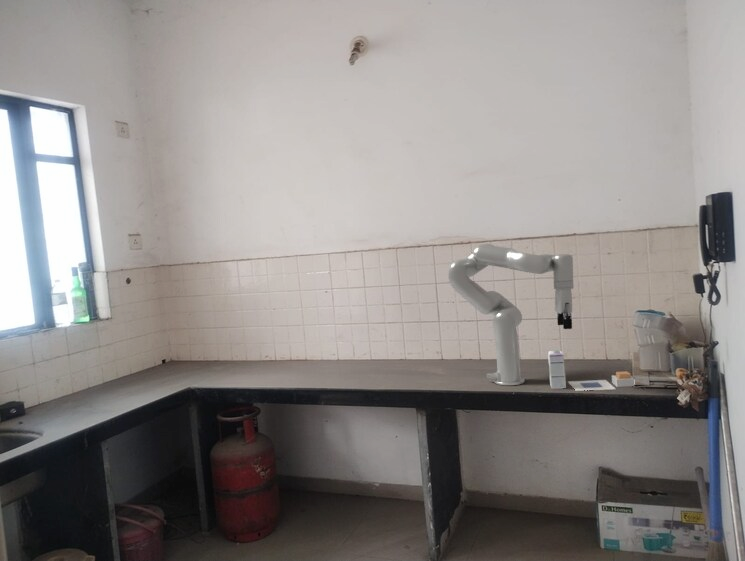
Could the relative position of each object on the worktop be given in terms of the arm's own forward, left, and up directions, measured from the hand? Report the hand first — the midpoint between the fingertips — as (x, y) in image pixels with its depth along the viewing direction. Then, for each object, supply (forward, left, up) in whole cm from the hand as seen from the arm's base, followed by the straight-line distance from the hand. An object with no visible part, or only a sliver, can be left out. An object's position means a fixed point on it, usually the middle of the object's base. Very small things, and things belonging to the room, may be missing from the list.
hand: (564, 326), depth 226 cm
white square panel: (+9, -2, -24) cm, 26 cm away
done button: (+21, -2, -22) cm, 31 cm away
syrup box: (-4, -2, -24) cm, 25 cm away
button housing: (+21, -2, -24) cm, 32 cm away
